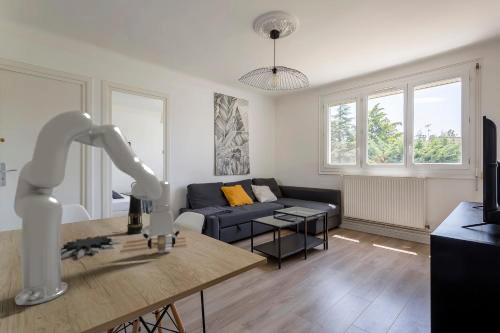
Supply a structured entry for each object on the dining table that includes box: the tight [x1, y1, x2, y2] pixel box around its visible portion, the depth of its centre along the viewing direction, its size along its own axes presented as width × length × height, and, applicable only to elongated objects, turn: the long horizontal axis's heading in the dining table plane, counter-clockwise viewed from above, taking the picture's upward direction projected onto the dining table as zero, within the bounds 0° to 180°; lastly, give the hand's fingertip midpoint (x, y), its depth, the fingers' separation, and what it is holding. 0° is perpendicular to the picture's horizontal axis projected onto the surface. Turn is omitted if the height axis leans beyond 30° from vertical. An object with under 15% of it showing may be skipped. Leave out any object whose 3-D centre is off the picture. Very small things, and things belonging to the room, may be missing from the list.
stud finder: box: [165, 234, 178, 244], centre depth 127 cm, size 5×8×4 cm, turn 108°
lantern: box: [126, 181, 144, 236], centre depth 149 cm, size 9×9×30 cm
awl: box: [156, 235, 166, 255], centre depth 112 cm, size 3×3×8 cm
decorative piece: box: [61, 235, 122, 261], centre depth 121 cm, size 30×4×30 cm
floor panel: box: [118, 235, 187, 255], centre depth 125 cm, size 20×29×1 cm
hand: (161, 247), depth 112 cm, fingers open, 9 cm apart
